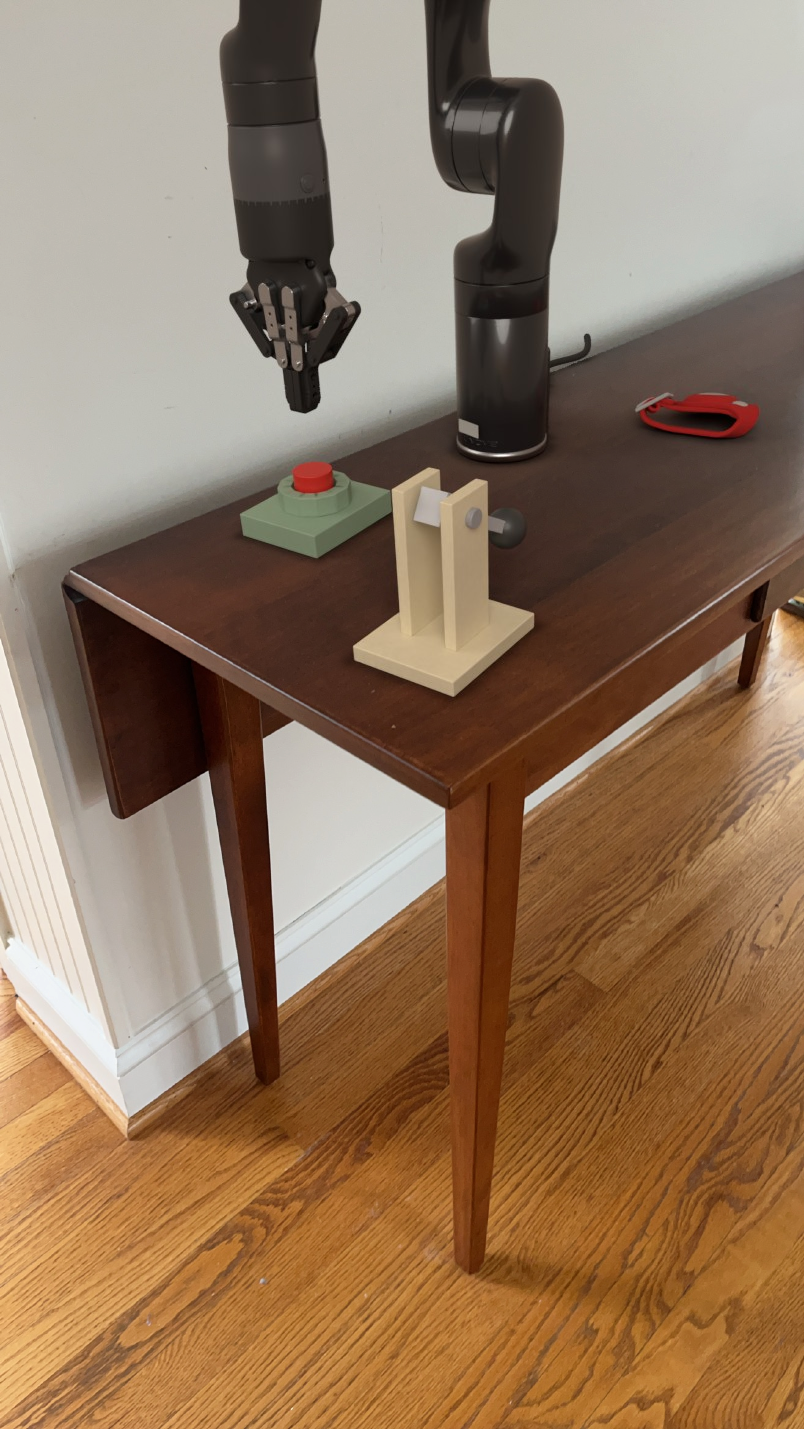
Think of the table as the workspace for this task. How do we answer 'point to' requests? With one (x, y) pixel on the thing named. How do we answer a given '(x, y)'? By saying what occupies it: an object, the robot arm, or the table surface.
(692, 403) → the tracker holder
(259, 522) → the button block
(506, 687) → the table surface
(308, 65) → the robot arm
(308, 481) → the stop button
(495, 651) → the lever bracket
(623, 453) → the table surface
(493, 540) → the press lever
